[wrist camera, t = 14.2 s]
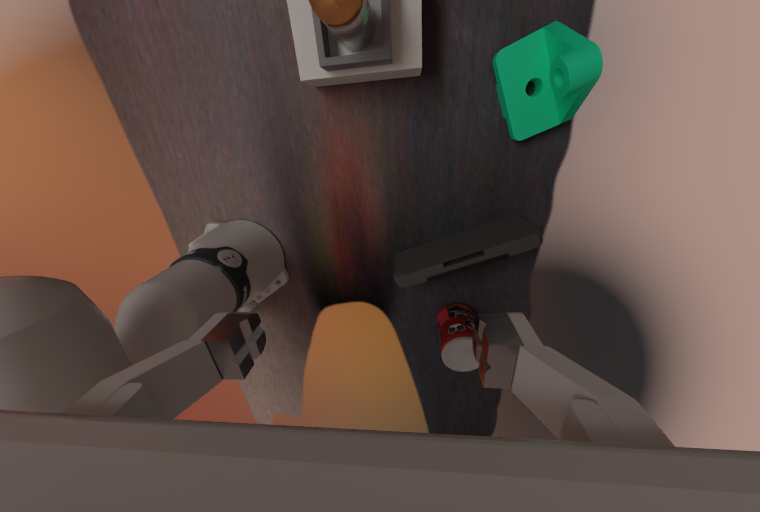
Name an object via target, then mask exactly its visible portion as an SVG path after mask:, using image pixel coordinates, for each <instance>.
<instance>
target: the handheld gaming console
mask: <svg viewBox="0 0 760 512" xmlns="http://www.w3.org/2000/svg"><path fill="white" fill-rule="evenodd" d="M542 242H543V238H542V233H541V231H540V230H539V229H538V228H537V227H535V226H534V225H532V224H531V223H530V222H528V221H527V220H526V219H525V218H524V217H523V216H521V215H519V214H511V215H508V216H504V217H501V218H498V219H495V220H492V221H489V222H486V223H483V224H480V225H477V226H474V227H471V228H468V229H465V230H462V231H459V232H457V233H454V234H451V235H448V236H445V237H442V238H439V239H436V240H433V241H430V242H427V243H424V244H421V245H418V246H415V247H412V248H409V249H406V250H404V251H401V252H400V253H398V254H397V255H396V258H395V271H394V279H395V282H396V284H397V285H398V286H399V287H401V288H404V287H409V286H413V285H416V284H420V283H423V282H426V281H431V280H434V279H438V278H441V277H444V276H448V275H451V274H455V273H458V272H461V271H465V270H468V269H471V268H475V267H478V266H481V265H485V264H488V263H491V262H495V261H498V260H501V259H505V258H508V257H509V256H513V255H517V254H520V253H523V252H527V251H530V250H532V249H535V248H538V247H540V245H541V244H542Z"/></svg>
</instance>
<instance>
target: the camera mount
mask: <svg viewBox="0 0 760 512" xmlns="http://www.w3.org/2000/svg"><path fill="white" fill-rule="evenodd" d="M493 67H494V71H495V75H496V80H497V85H496V88H497V93H498V97H499V101H500V105H501V109H502V113H503V117H504V118H506V121H507V125H508V130H509V134H510V137H511V139H513V140H517V141H521V140H524V139H526V138H529V137H531V136H533V135H536V134H538V133H540V132H543V131H545V130H547V129H550V128H552V127H554V126H557V125H559V124H561V123H564V122H566V121H568V120H571V119H572V118H573V116H574V115H575V113H576V112H577V110H578V109H579V107H580V106H581V104H582V103H583V101H584V100H585V98H586V97H587V95H588V94H589V92H590V91H591V89H592V88H593V86H594V85H595V84H596V82H597V81H598V79H599V77H600V75H601V72H602V55H601V52H600V49H599V47H598V46H597V45H596V44H595V43H594V42H592V41H590V40H589V39H587V38H585V37H584V36H582V35H580V34H579V33H577V32H575V31H573V30H572V29H570V28H568V27H567V26H565V25H563V24H562V23H560V22H558V21H555V22H553V23H551V24H549V25H547V26H545V27H543V28H541V29H539V30H538V31H536V32H534V33H532V34H530V35H528V36H526V37H524V38H522V39H520V40H519V41H517V42H515V43H513V44H511V45H509V46H507V47H505V48H503V49H502V50H500V51H499V52H498V53H497V54H496V55H495V56H494V58H493ZM529 81H532V82H533V83H534V84H535V91H534V93H533V94H532V95H531V96H528V95H527V93H526V85H527V83H528V82H529Z"/></svg>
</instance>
